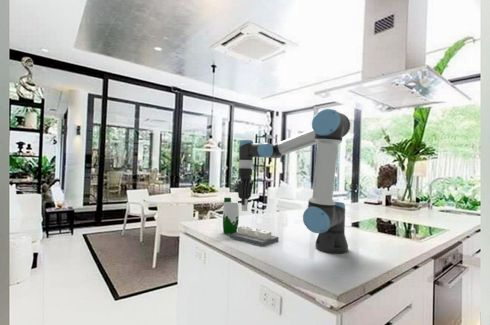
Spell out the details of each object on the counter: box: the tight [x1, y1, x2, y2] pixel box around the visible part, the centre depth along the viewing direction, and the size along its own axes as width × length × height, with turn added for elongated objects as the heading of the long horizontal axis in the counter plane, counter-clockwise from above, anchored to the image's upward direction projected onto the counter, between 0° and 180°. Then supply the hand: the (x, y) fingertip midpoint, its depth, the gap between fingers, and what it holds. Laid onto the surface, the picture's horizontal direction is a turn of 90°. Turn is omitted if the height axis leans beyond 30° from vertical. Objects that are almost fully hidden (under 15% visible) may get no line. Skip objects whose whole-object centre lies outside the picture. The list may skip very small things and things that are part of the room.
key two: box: [247, 227, 262, 237], centre depth 146 cm, size 5×5×4 cm
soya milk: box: [222, 197, 240, 235], centre depth 160 cm, size 9×9×20 cm
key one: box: [258, 230, 272, 240], centre depth 141 cm, size 5×5×4 cm
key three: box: [237, 225, 251, 235], centre depth 150 cm, size 5×5×4 cm
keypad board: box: [229, 231, 279, 247], centre depth 146 cm, size 22×14×2 cm, turn 50°
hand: (244, 210), depth 150 cm, fingers closed
